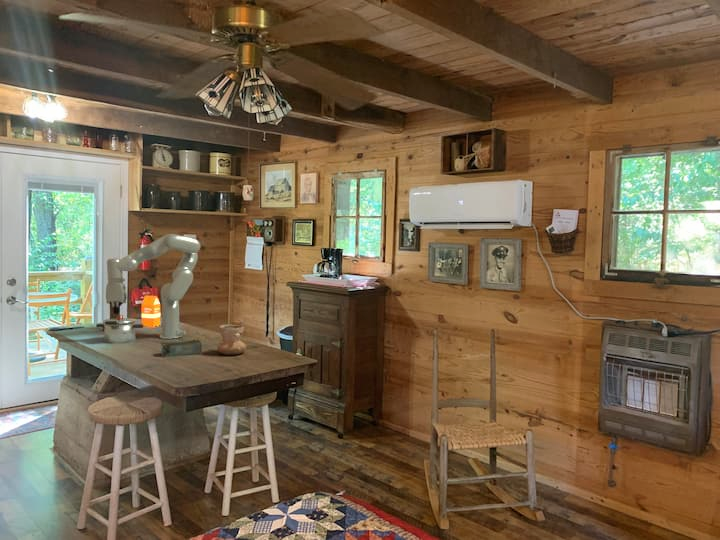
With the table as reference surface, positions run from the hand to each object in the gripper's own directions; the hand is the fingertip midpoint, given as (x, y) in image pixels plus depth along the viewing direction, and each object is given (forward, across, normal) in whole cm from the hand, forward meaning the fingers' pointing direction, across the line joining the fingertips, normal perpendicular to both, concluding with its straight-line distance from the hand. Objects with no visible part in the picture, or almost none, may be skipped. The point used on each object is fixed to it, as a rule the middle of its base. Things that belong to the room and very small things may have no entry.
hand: (116, 313), depth 306 cm
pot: (+16, +1, -4) cm, 17 cm away
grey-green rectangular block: (+17, -45, +25) cm, 54 cm away
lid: (+5, +1, -3) cm, 6 cm away
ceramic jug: (+17, -69, +22) cm, 74 cm away
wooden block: (+16, +21, -35) cm, 44 cm away
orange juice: (+17, +3, -52) cm, 55 cm away
